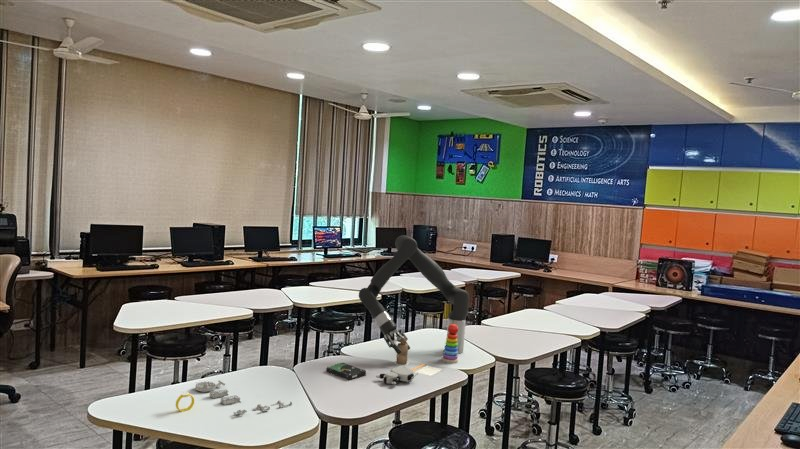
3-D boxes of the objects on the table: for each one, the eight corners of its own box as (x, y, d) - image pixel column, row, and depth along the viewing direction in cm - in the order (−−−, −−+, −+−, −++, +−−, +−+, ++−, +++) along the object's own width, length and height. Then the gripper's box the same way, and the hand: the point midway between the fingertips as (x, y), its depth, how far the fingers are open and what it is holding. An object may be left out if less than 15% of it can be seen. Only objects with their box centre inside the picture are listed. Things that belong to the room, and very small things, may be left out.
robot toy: (394, 391, 219) (419, 381, 230) (394, 380, 219) (419, 371, 229) (374, 382, 228) (398, 373, 238) (374, 372, 227) (399, 363, 238)
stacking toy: (453, 365, 257) (456, 326, 256) (438, 361, 261) (441, 323, 260) (460, 361, 263) (463, 324, 263) (446, 358, 268) (449, 321, 267)
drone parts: (246, 380, 220) (247, 372, 220) (294, 408, 195) (295, 400, 195) (191, 389, 204) (192, 380, 204) (236, 421, 179) (237, 412, 179)
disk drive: (366, 376, 233) (342, 368, 242) (366, 370, 233) (342, 361, 242) (349, 382, 225) (325, 372, 234) (350, 375, 225) (325, 366, 234)
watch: (178, 414, 181) (177, 397, 180) (174, 411, 183) (174, 394, 182) (195, 409, 185) (195, 392, 185) (191, 406, 187) (191, 390, 187)
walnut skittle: (399, 360, 256) (401, 336, 256) (408, 363, 254) (410, 338, 253) (394, 363, 252) (396, 338, 251) (403, 365, 249) (405, 340, 249)
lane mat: (398, 358, 261) (398, 357, 261) (444, 369, 249) (444, 368, 249) (382, 365, 248) (382, 364, 248) (430, 378, 236) (430, 376, 236)
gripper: (382, 321, 249) (402, 350, 244) (398, 316, 262) (416, 344, 257) (372, 330, 252) (391, 359, 247) (388, 325, 265) (406, 352, 260)
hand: (404, 351), depth 252 cm, fingers open, 8 cm apart
